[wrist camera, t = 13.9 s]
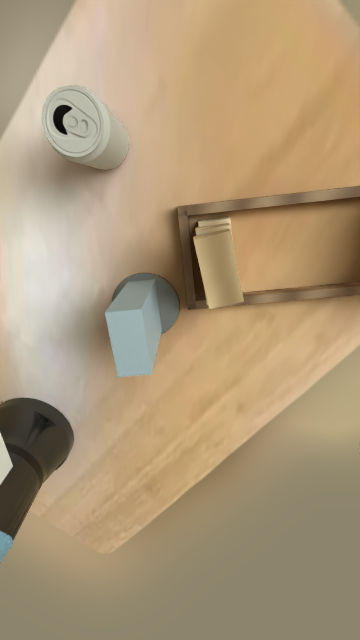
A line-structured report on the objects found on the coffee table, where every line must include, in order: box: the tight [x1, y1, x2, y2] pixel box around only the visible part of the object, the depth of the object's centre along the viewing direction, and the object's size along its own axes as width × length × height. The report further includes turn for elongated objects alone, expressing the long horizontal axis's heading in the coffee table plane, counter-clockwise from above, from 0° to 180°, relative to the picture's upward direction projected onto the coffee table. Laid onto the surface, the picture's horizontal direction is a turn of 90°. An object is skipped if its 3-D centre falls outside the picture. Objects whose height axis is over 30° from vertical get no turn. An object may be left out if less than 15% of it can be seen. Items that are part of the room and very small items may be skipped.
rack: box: [177, 186, 360, 310], centre depth 40 cm, size 28×14×10 cm, turn 96°
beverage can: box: [42, 85, 129, 170], centre depth 35 cm, size 6×6×12 cm
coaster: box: [112, 273, 179, 334], centre depth 48 cm, size 10×10×1 cm
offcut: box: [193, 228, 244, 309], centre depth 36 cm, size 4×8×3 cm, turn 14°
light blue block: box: [105, 279, 162, 377], centre depth 42 cm, size 4×8×13 cm, turn 6°
